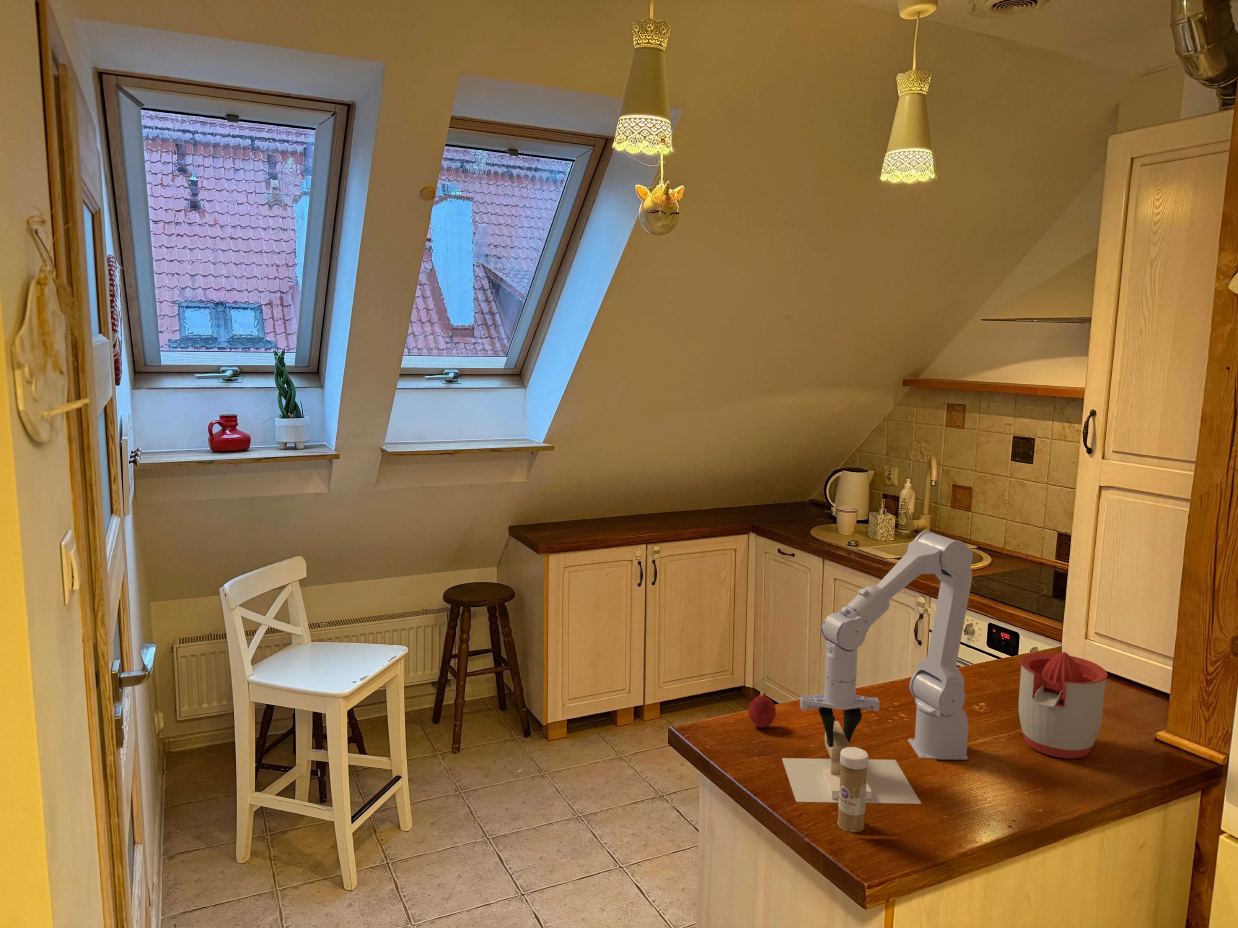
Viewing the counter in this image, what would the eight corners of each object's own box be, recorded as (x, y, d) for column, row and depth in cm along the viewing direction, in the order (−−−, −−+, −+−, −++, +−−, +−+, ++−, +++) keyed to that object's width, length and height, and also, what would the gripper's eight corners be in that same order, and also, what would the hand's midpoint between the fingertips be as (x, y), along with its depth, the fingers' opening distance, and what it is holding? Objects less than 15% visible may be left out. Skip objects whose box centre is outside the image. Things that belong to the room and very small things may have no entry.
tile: (860, 769, 163) (871, 791, 155) (860, 777, 163) (871, 799, 155) (822, 768, 163) (832, 790, 155) (822, 776, 164) (831, 798, 156)
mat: (895, 762, 170) (895, 759, 170) (921, 806, 154) (921, 803, 154) (781, 760, 171) (781, 757, 171) (796, 803, 155) (796, 801, 155)
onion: (775, 735, 181) (776, 699, 180) (747, 733, 182) (748, 696, 181) (775, 723, 187) (777, 687, 186) (748, 721, 188) (749, 685, 187)
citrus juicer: (998, 749, 176) (1005, 654, 173) (1030, 722, 188) (1037, 633, 185) (1082, 776, 165) (1091, 675, 162) (1111, 746, 177) (1119, 652, 174)
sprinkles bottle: (832, 827, 147) (835, 752, 145) (844, 816, 151) (847, 743, 149) (857, 837, 145) (861, 761, 143) (869, 826, 148) (873, 751, 146)
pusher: (843, 744, 173) (844, 720, 172) (858, 774, 161) (859, 749, 160) (817, 744, 173) (818, 720, 172) (830, 774, 161) (831, 748, 160)
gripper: (873, 669, 169) (870, 735, 171) (798, 668, 169) (795, 734, 171) (883, 683, 162) (880, 752, 164) (804, 682, 162) (802, 751, 164)
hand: (837, 744), depth 167 cm, fingers closed on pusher, 2 cm apart
